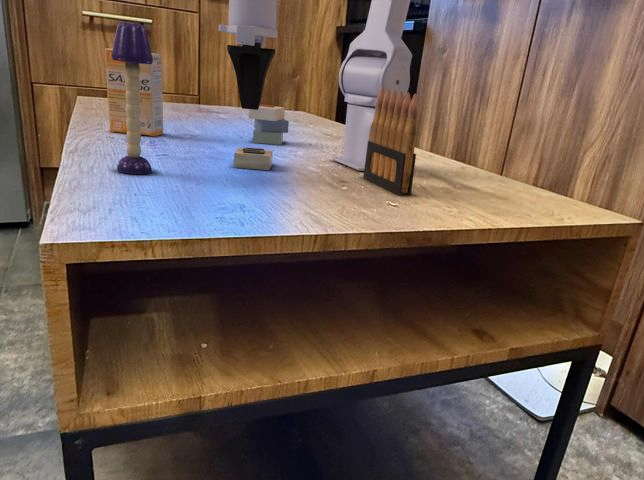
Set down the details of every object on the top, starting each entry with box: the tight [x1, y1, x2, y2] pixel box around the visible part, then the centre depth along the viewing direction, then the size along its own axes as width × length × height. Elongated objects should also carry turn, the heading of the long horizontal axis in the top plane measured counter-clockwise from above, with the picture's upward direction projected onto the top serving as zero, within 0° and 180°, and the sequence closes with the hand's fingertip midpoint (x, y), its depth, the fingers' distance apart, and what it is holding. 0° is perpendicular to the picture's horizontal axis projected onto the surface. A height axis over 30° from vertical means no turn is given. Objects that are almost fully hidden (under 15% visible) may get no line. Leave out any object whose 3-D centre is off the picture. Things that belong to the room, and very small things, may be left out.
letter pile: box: [248, 104, 290, 146], centre depth 108 cm, size 7×7×6 cm
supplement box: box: [104, 48, 164, 137], centre depth 102 cm, size 8×5×13 cm, turn 81°
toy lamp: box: [111, 21, 153, 175], centre depth 72 cm, size 5×5×17 cm
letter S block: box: [233, 146, 274, 171], centre depth 86 cm, size 5×5×2 cm
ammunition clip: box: [362, 87, 419, 196], centre depth 78 cm, size 11×2×12 cm, turn 22°
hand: (250, 108), depth 77 cm, fingers closed
